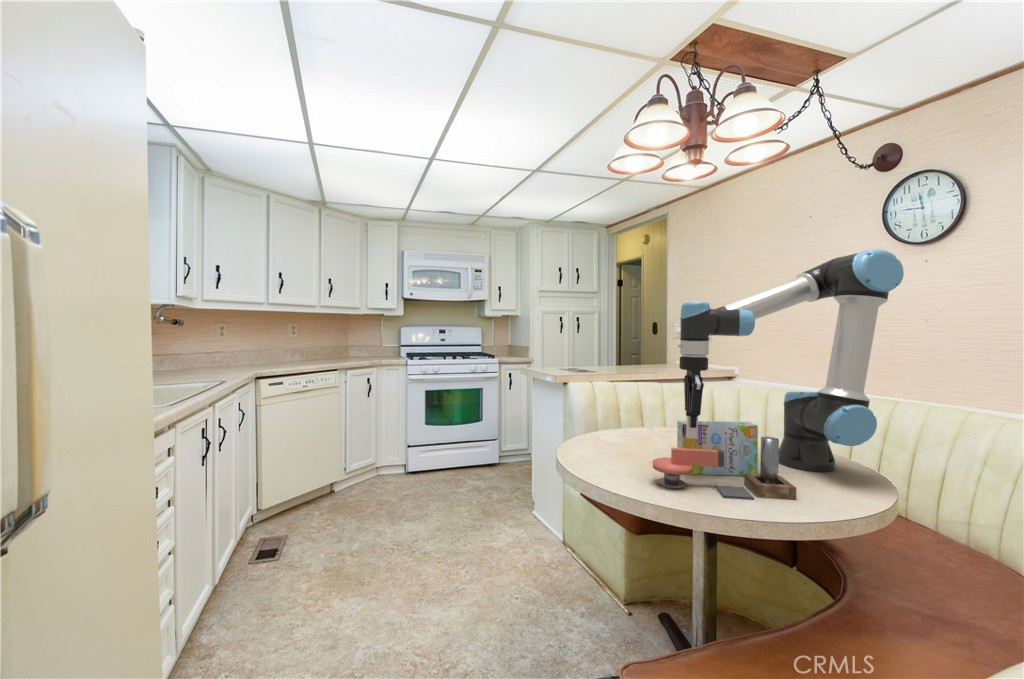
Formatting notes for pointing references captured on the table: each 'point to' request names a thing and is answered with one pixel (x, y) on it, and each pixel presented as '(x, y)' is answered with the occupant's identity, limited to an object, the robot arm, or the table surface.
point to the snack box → (724, 446)
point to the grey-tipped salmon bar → (688, 460)
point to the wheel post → (671, 481)
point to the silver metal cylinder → (769, 460)
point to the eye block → (770, 487)
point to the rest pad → (734, 492)
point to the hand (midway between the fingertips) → (691, 438)
